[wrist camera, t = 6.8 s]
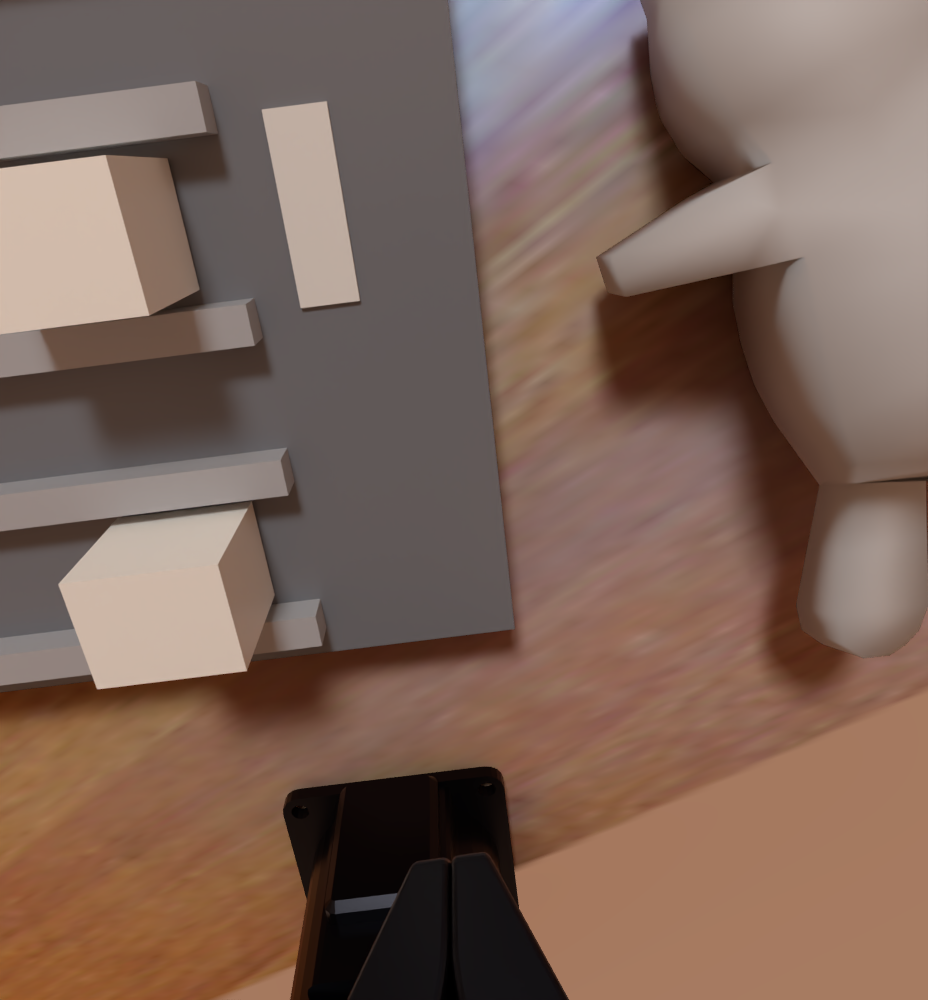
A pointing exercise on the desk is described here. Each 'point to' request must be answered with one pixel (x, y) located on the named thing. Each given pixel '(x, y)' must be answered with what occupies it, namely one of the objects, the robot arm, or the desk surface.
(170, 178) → the tab middle
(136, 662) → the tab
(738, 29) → the bunny figurine
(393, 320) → the switch panel
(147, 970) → the desk surface
